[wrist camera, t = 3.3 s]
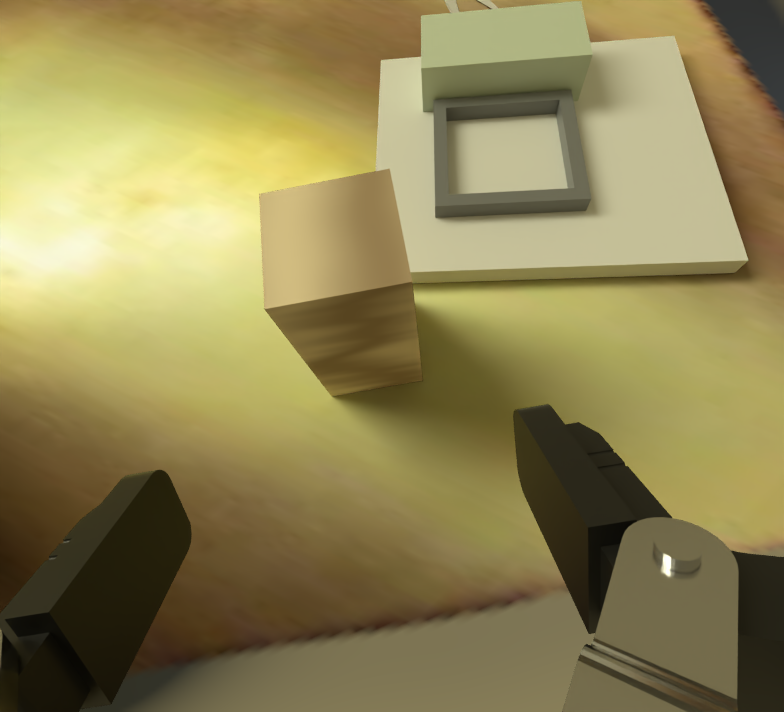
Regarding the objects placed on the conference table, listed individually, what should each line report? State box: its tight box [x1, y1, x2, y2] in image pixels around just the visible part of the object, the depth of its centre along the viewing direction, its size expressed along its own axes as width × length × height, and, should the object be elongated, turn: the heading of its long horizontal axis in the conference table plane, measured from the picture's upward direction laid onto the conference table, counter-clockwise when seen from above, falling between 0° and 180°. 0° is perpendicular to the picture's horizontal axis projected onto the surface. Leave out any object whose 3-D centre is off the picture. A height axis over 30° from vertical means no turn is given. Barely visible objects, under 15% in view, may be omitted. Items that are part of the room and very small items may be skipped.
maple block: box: [259, 169, 423, 396], centre depth 20 cm, size 5×5×10 cm
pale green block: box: [421, 1, 593, 112], centre depth 29 cm, size 10×5×3 cm, turn 89°
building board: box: [376, 36, 748, 283], centre depth 28 cm, size 20×18×2 cm
